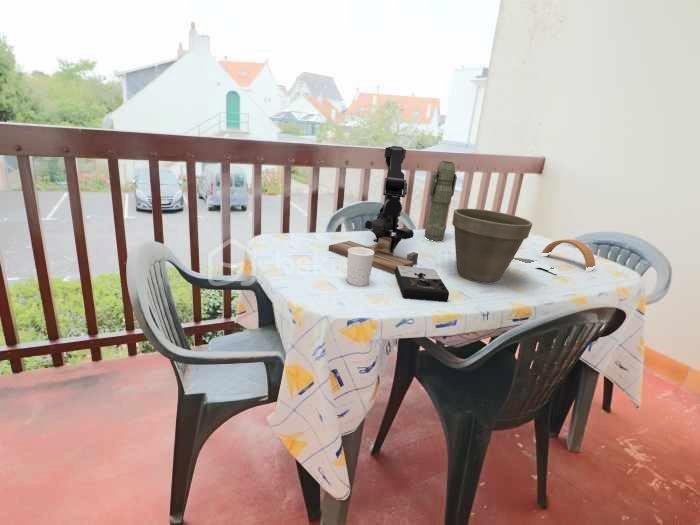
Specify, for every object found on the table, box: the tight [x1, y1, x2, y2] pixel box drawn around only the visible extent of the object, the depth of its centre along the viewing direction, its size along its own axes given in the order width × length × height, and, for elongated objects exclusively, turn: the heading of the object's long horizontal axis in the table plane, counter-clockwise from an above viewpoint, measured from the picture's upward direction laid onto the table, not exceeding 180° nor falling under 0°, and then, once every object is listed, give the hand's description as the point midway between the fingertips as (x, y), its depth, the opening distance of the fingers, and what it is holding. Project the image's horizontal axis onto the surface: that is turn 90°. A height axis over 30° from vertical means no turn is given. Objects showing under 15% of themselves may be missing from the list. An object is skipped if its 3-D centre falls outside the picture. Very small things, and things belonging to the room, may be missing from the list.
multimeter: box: [394, 266, 450, 303], centre depth 115 cm, size 13×19×5 cm
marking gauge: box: [370, 237, 395, 256], centre depth 139 cm, size 11×5×6 cm, turn 139°
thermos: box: [424, 160, 458, 242], centre depth 167 cm, size 9×12×35 cm
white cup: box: [346, 247, 374, 287], centre depth 113 cm, size 8×8×10 cm
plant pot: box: [451, 208, 533, 284], centre depth 128 cm, size 25×25×22 cm
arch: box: [541, 238, 596, 268], centre depth 156 cm, size 6×20×10 cm, turn 31°
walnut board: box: [327, 240, 419, 275], centre depth 138 cm, size 17×30×4 cm, turn 50°
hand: (385, 250), depth 142 cm, fingers closed on marking gauge, 5 cm apart
